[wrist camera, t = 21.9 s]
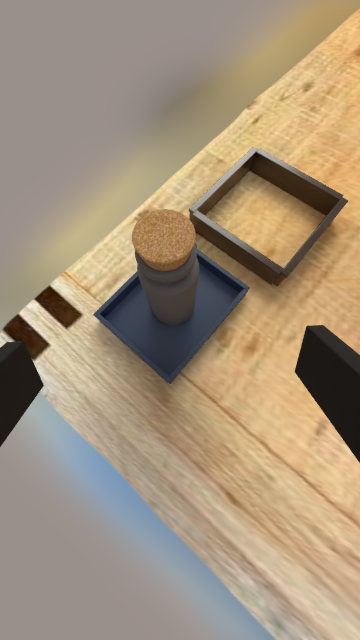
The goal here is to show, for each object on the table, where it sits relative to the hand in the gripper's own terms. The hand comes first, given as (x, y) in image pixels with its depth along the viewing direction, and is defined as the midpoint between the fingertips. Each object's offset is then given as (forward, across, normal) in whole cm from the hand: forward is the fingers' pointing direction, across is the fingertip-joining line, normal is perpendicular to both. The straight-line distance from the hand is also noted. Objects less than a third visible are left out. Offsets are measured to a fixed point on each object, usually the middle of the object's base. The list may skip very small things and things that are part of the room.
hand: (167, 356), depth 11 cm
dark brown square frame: (+29, +14, +3) cm, 33 cm away
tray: (+20, 0, -6) cm, 21 cm away
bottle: (+19, 0, -6) cm, 20 cm away
